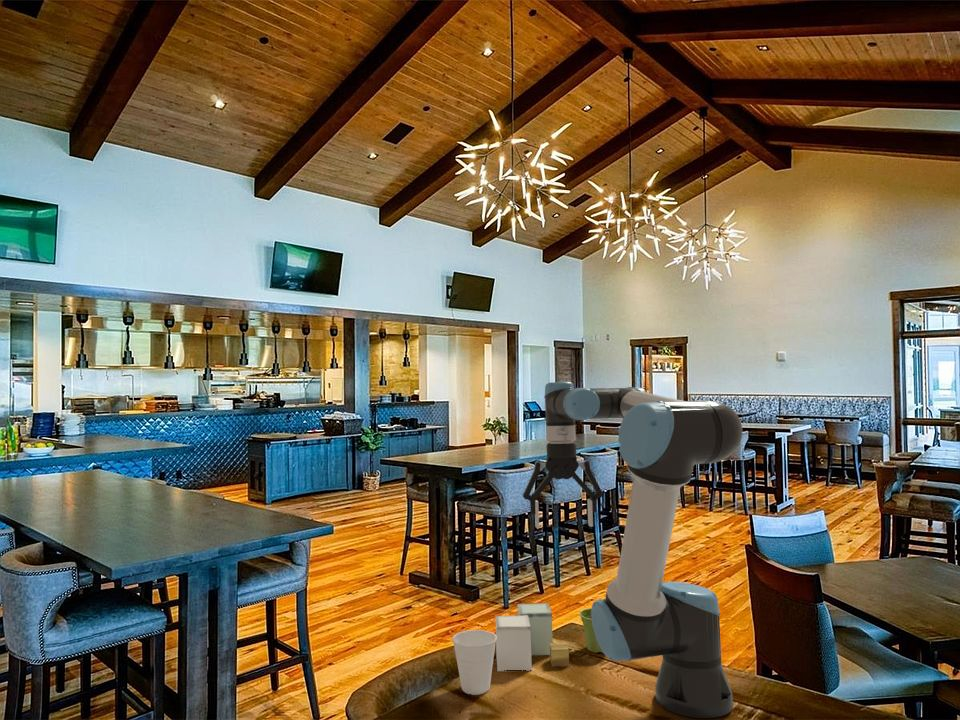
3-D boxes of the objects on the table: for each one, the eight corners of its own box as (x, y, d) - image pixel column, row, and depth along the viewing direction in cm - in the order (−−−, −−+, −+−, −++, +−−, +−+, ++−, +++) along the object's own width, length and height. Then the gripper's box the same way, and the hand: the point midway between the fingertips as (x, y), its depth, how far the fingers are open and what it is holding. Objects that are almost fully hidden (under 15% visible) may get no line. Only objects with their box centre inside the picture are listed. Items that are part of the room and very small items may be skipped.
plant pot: (596, 639, 165) (595, 605, 166) (626, 649, 158) (624, 613, 159) (572, 648, 159) (571, 613, 160) (601, 659, 152) (600, 622, 153)
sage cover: (549, 642, 164) (548, 603, 164) (553, 654, 156) (551, 613, 156) (518, 643, 164) (517, 604, 164) (520, 655, 156) (519, 614, 156)
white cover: (531, 670, 147) (530, 626, 147) (497, 671, 147) (496, 627, 147) (529, 656, 155) (527, 615, 155) (496, 657, 155) (495, 615, 155)
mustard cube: (569, 666, 149) (568, 649, 149) (552, 667, 149) (551, 649, 149) (566, 659, 153) (566, 642, 153) (550, 660, 153) (549, 643, 153)
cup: (499, 679, 142) (498, 629, 143) (496, 700, 132) (495, 646, 133) (456, 679, 143) (455, 629, 144) (449, 699, 133) (448, 645, 134)
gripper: (513, 444, 158) (515, 530, 156) (612, 441, 158) (616, 528, 156) (511, 442, 165) (514, 524, 164) (606, 440, 165) (609, 522, 164)
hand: (563, 526), depth 160 cm, fingers open, 13 cm apart
